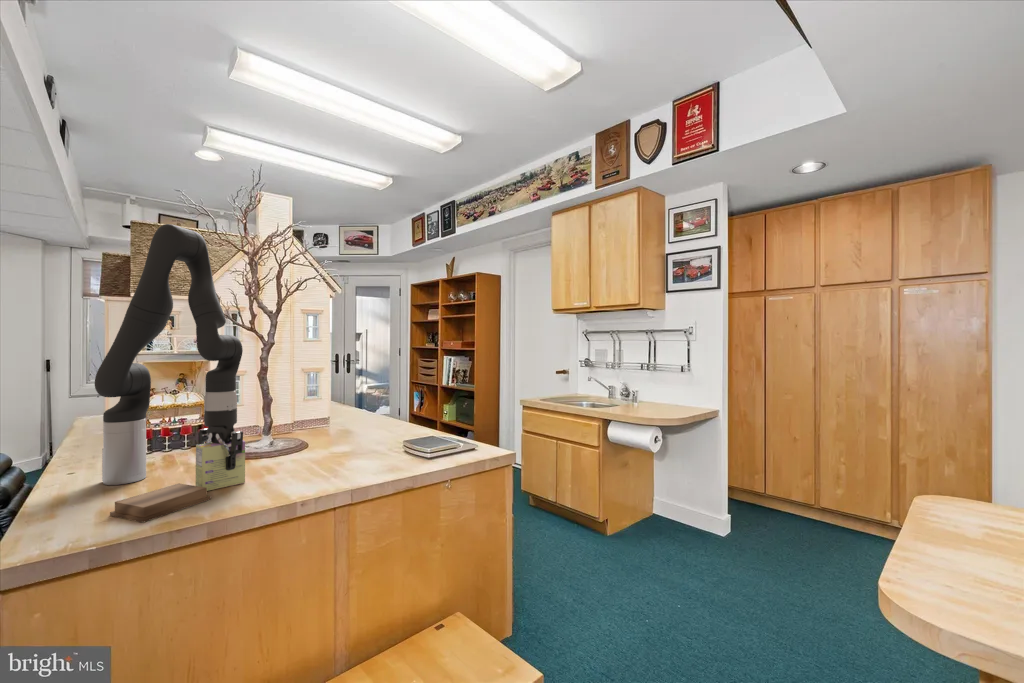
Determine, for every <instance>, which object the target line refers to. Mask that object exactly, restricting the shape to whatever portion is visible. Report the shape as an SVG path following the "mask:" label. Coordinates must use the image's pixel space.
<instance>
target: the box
mask: <svg viewBox="0 0 1024 683" xmlns="http://www.w3.org/2000/svg"><path fill="white" fill-rule="evenodd" d="M228 444H231V443H227V444H226V445H228ZM236 449H238V445H237V446H236ZM229 450H230V451H231V447H230V448H229ZM226 457H227V456H226V454H225V451H224V450H223V449H222V448H221V445H220V444H217V443H205V442H204V444H200V443H199V444H196V445H195V486H199V487H205V488H207V491H211V490H217V489H222V488H225V487H227V488H228V487H231V486H237V485H242V484H245V483H246V440H244V439H243V447H242V453H239V454H236V466H235V468H234V469H232V470H226Z"/></svg>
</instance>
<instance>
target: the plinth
mask: <svg viewBox="0 0 1024 683" xmlns="http://www.w3.org/2000/svg"><path fill="white" fill-rule="evenodd" d="M207 494H208V492H207V488H205V487H199V486H196V485H191V484H184V483H175V484H173V485H170V486H165V487H162V488H161V487H160V488H159V489H155V490H152V491H148V492H144V493H141V494H137V495H135V496H131V497H128V498H123V499H120V500H117V501H114V510H113V511H110V512H109V516H110V517H114V518H120V519H123V520H129V521H132V522H137V523H145V522H148V521H151V520H154V519H157V518H160V517H163V516H165V515H168V514H172V513H174V512H177V511H180V510H183V509H186V508H190V507H192V506H196V505H198V504H201V503H204V502H206V501H209V500H212V499H211V498H212V497H211V495H207Z"/></svg>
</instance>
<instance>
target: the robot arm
mask: <svg viewBox="0 0 1024 683" xmlns="http://www.w3.org/2000/svg"><path fill="white" fill-rule="evenodd" d="M176 261H179V262H182V263H183V262H184V264H185V265H186V267H187V269H188V271H189V273H190V278H191V279H190V280H191V282H190V287H189V289H188V296H187V302H188V303H187V304H188V306H189V309H190V313H191V314H192V317H193V320H194V323H195V327H196V328H195V335H196V336H195V337H196V349H197V351H198V353H199V355H200V356H201V358H203V359H204V360H206V361H210V362H217V364H216V367H215V368H214V369H211V370H209V371H207V372H206V374H205V381H204V382H205V392H204V393H205V394H204V402H203V406H204V410H203V413H204V415H203V417H204V420H203V422H204V423H203V425H204V426H205V427H206V428H202V429H201V428H200V429H199V431H198V435H199V444H205V442H206V443H217V444H220V445H221V448H222V449H223V450H224V451H225V454H226V456H227V457H226V470H232V469H234V468H235V466H236V454H239V453H242V447H243V440H244V432H243V431H242V430H239V431H235V428H234V425H236V424H237V422H238V397H237V396H238V395H237V374H238V370H239V368H240V364H241V360H242V356H243V350H244V349H243V345H242V342H241V340H240V339H239V338H238V337H237V336H235V335H230V334H219V329H220V328H222V327H224V326H225V325H226V323H227V319H226V316H225V314H224V311H223V308H222V305H221V303H220V300H219V298H218V294H217V291H216V287H215V283H214V278H213V273H212V267H211V261H210V256H209V249H208V246H207V243H206V240H205V238H204V236H203V235H201V234H200V233H199V232H197V231H195V230H191V229H189V228H185V227H182V226H178V225H176V224H170V223H166V224H162V225H160V226H159V227H158V228H157V229H156V231H155V232H154V234H153V236H152V239H151V242H150V244H149V249H148V252H147V257H146V259H145V263H144V266H143V270H142V273H141V275H140V278H139V281H138V284H137V286H136V289H135V291H134V294H133V296H132V298H131V300H130V301H129V305H128V306H127V309H126V312H125V314H124V318H123V320H122V323H121V324H120V327H119V330H118V332H117V334H116V336H115V338H114V340H113V342H112V345H111V347H110V348H109V350H108V351H107V353H106V355H105V357H104V359H103V360H102V362H101V364H100V366H99V368H98V369H97V372H96V374H95V377H94V389H95V391H96V392H97V394H98V395H99V396H101V397H103V398H119V400H118V402H117V403H116V404H115V405H114V406H112V407H110V408H109V409H107V410H105V411H104V412H103V414H102V416H103V417H102V418H103V419H102V422H103V424H102V425H103V426H102V430H103V433H102V436H103V438H102V439H103V440H102V442H103V447H102V450H101V451H102V455H101V456H102V458H101V459H102V470H101V472H102V473H101V475H102V477H101V479H102V480H101V481H102V484H103V485H106V486H107V485H108V486H117V485H125V484H131V483H134V482H139V481H142V480H143V479H146V477H147V412H148V410H149V408H150V404H151V403H150V401H151V389H152V388H151V386H152V380H151V379H152V378H151V373H150V371H149V369H148V367H147V366H145V365H144V364H142V363H138V362H135V359H136V358H137V356H138V354H139V353H140V352H141V351H142V350H143V349H144V348H145V347H146V346H147V345H149V344H150V343H151V342H152V341H153V340H155V339H156V338H157V337H158V336H159V335H160V334H161V333H162V332H163V331H164V329H165V328H166V326H167V323H168V321H169V319H170V316H171V314H172V312H173V310H174V309H173V308H174V301H173V295H172V294H173V293H172V292H171V287H170V274H171V272H172V268H173V266H174V265H175V264H174V263H175V262H176ZM134 362H135V363H134ZM227 443H231V444H228V445H226V444H227ZM237 445H238V449H236V446H237ZM230 447H231V451H230V450H229V448H230Z"/></svg>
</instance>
